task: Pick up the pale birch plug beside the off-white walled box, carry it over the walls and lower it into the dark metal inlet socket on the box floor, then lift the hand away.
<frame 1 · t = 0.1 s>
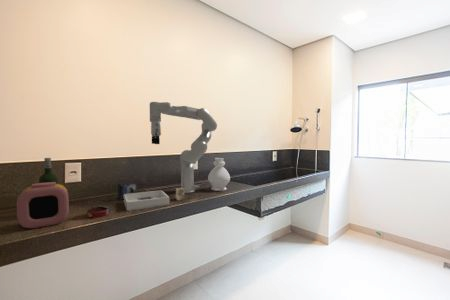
hand: (155, 143, 159), 37 cm above the counter, tool pointing down, fingers open, 9 cm apart
plug: (180, 199, 151), on the counter
alarm clock: (45, 223, 107), on the counter
wine bottle: (49, 213, 121), on the counter
walled box: (146, 203, 140), on the counter
small box: (127, 198, 152), on the counter
decorative vase: (219, 189, 181), on the counter
canned food: (98, 215, 119), on the counter
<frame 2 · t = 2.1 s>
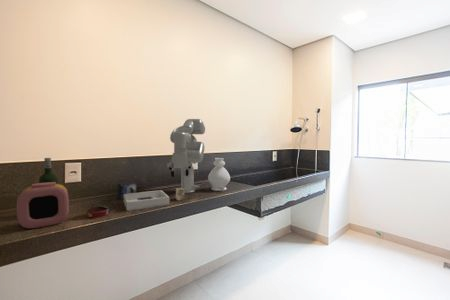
hand: (179, 176, 149), 15 cm above the counter, tool pointing down, fingers open, 9 cm apart
nothing on the counter moved.
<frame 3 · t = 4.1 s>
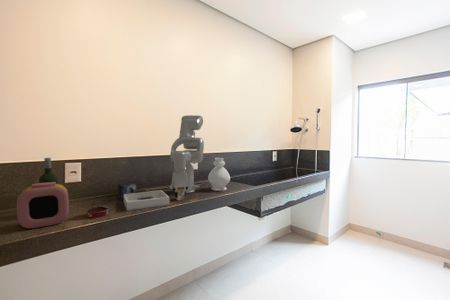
hand: (180, 197, 151), 1 cm above the counter, tool pointing down, fingers closed on plug, 4 cm apart
plug: (180, 199, 151), on the counter, touching gripper
everything else where it was.
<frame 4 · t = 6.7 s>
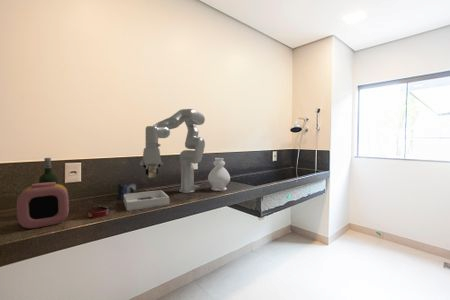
hand: (151, 174, 140), 18 cm above the counter, tool pointing down, fingers closed on plug, 4 cm apart
plug: (151, 176, 140), point 17 cm above the counter, touching gripper
everything else where it was.
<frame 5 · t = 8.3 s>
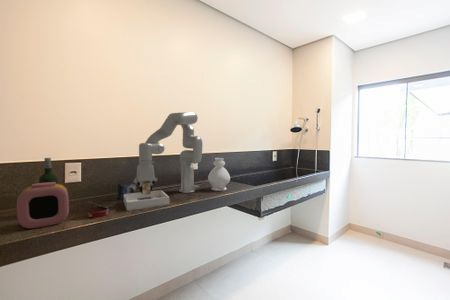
hand: (145, 191, 139), 7 cm above the counter, tool pointing down, fingers closed on plug, 4 cm apart
plug: (145, 193, 139), point 6 cm above the counter, touching gripper
everything else where it was.
when the fingers open (4 cm above the counter, at t = 9.4 s): plug drops 1 cm, resting on walled box.
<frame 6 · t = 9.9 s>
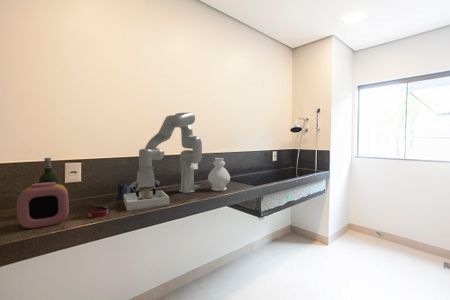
hand: (146, 196, 140), 5 cm above the counter, tool pointing down, fingers open, 9 cm apart
plug: (146, 201, 140), point 1 cm above the counter, touching walled box
everything else where it was.
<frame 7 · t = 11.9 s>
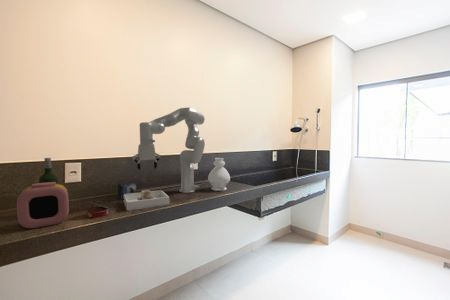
hand: (147, 168, 142), 21 cm above the counter, tool pointing down, fingers open, 9 cm apart
nothing on the counter moved.
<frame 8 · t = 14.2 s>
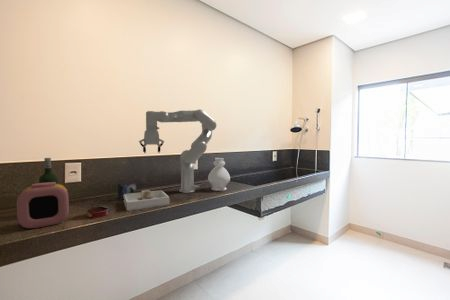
hand: (151, 152, 160), 30 cm above the counter, tool pointing down, fingers open, 9 cm apart
nothing on the counter moved.
at the end: plug 0.1 cm off-centre on the walled box, point 1.0 cm above the walled box's base; plug tilted 0°; the gripper is holding nothing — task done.
